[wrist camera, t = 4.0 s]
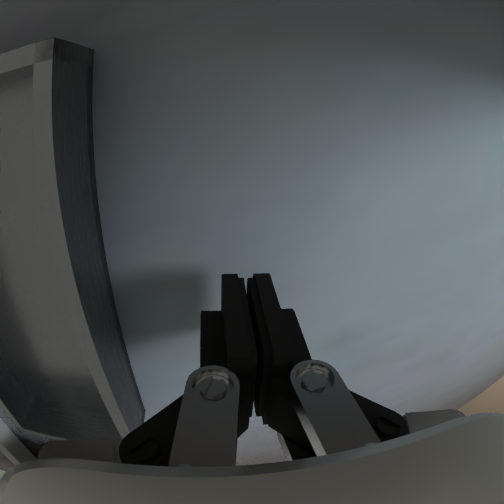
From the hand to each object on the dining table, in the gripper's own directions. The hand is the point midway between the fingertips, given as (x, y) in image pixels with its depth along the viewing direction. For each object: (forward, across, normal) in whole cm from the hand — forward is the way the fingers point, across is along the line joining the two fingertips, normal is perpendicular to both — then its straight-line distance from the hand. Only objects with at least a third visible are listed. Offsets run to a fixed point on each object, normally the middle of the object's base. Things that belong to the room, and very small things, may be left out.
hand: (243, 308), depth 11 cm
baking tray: (+2, +9, 0) cm, 9 cm away
